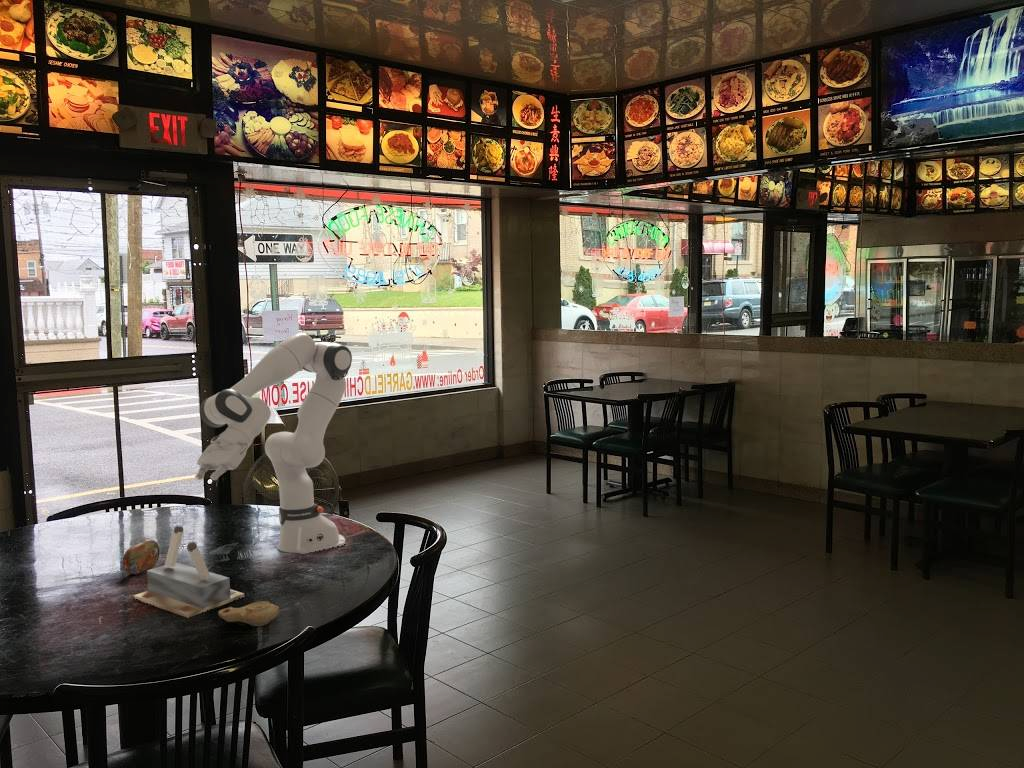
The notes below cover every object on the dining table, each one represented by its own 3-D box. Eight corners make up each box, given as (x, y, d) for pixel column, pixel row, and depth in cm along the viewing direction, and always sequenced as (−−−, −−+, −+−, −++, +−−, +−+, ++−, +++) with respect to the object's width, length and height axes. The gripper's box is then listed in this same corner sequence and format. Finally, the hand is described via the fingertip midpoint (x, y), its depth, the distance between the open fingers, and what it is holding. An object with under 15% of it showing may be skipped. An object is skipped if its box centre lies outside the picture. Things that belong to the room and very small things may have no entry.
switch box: (190, 579, 252) (188, 557, 251) (244, 596, 237) (242, 573, 236) (133, 598, 237) (132, 575, 236) (187, 617, 222) (186, 592, 221)
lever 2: (206, 573, 232) (190, 539, 228) (212, 575, 231) (197, 541, 226) (198, 579, 231) (183, 544, 226) (205, 581, 229) (189, 546, 224)
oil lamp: (217, 623, 218) (216, 605, 218) (271, 611, 226) (270, 593, 225) (227, 637, 209) (226, 618, 209) (283, 624, 217) (282, 605, 216)
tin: (131, 578, 255) (129, 551, 254) (122, 577, 255) (120, 551, 254) (161, 562, 269) (159, 537, 268) (152, 561, 270) (150, 536, 269)
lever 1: (170, 565, 243) (180, 525, 245) (176, 566, 242) (186, 526, 244) (162, 564, 241) (172, 524, 243) (168, 566, 240) (178, 525, 242)
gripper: (257, 449, 251) (229, 485, 244) (224, 450, 265) (197, 484, 258) (243, 435, 248) (214, 472, 241) (210, 437, 262) (182, 472, 255)
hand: (205, 478), depth 250 cm, fingers open, 8 cm apart
